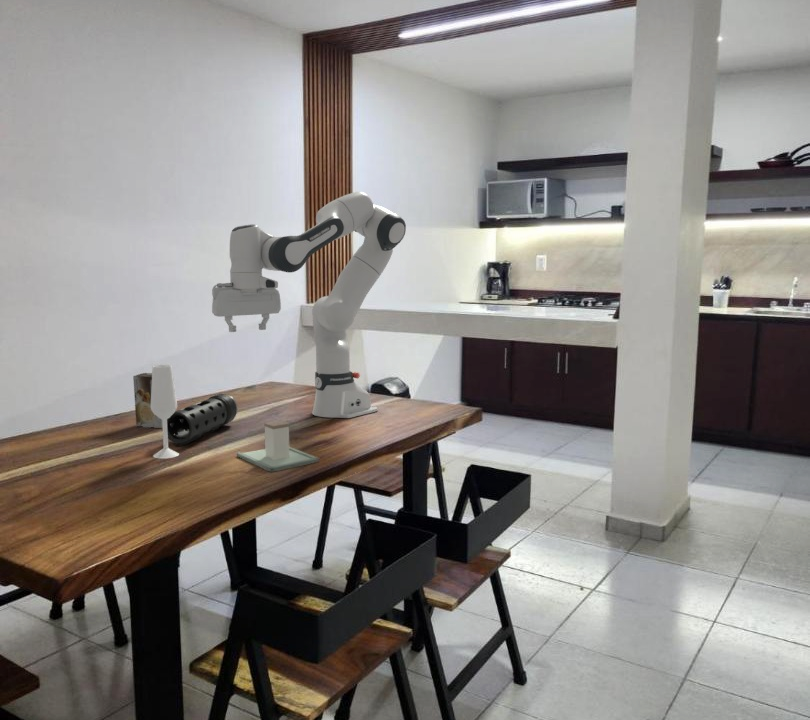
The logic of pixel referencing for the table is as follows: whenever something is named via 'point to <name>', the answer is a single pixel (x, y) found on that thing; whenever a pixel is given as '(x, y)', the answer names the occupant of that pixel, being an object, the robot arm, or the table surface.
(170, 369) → the champagne flute
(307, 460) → the tray
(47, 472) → the table surface
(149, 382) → the coffee box
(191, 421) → the muzzle brake
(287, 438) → the canister
